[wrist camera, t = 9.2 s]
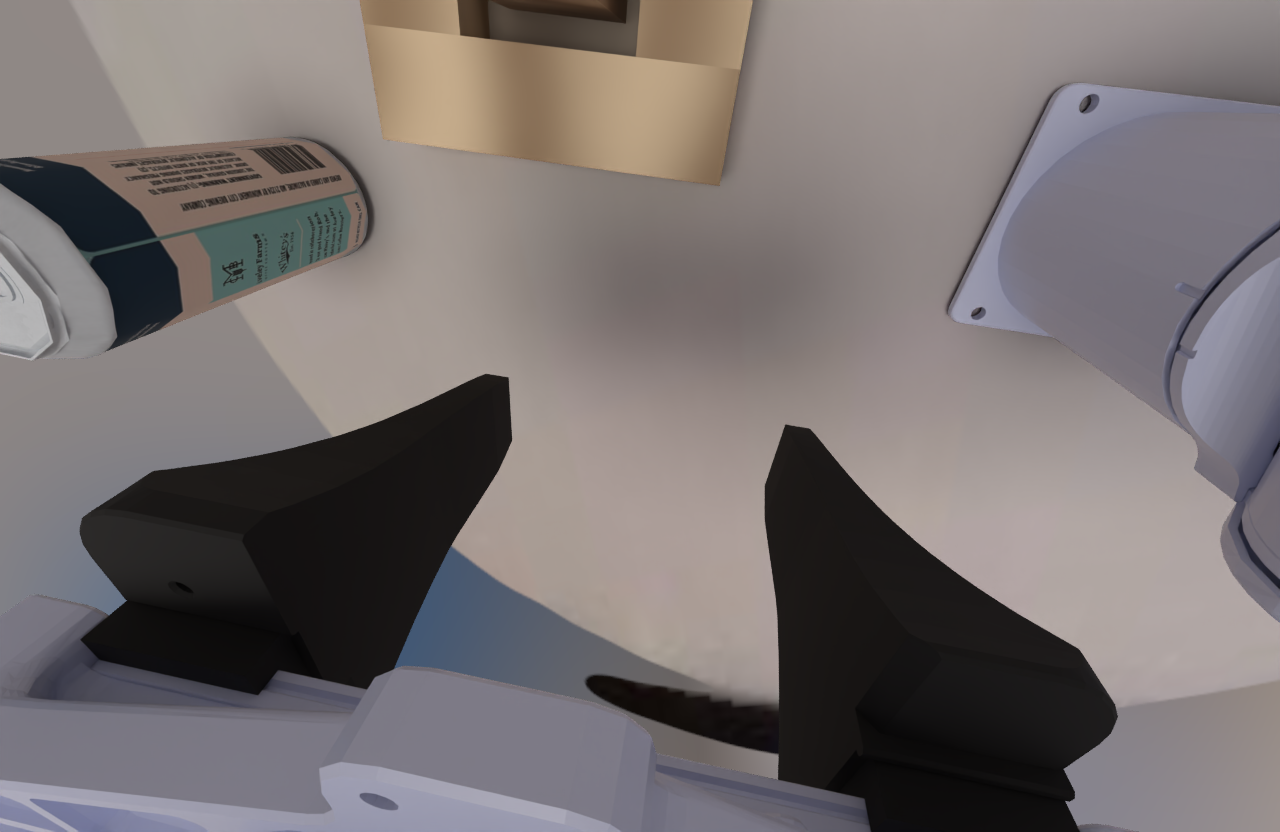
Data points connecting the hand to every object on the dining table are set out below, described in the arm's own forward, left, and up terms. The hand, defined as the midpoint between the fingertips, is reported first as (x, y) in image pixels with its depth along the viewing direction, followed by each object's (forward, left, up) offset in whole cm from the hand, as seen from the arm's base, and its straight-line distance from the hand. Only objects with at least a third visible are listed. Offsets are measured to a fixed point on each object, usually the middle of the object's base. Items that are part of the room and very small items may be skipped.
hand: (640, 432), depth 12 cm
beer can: (+16, -2, -11) cm, 19 cm away
